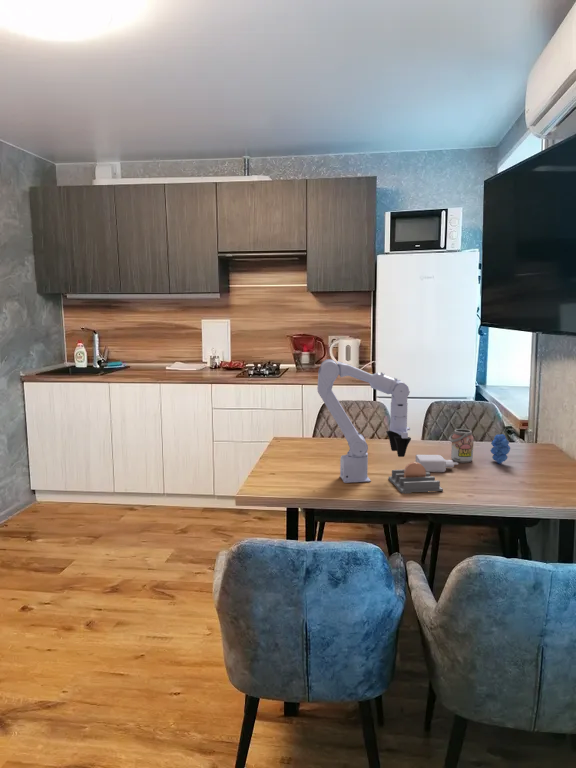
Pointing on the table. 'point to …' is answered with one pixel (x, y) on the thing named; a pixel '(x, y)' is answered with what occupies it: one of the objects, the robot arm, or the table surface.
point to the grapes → (500, 448)
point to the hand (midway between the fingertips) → (397, 453)
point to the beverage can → (462, 445)
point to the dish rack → (414, 482)
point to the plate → (414, 470)
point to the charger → (434, 463)
